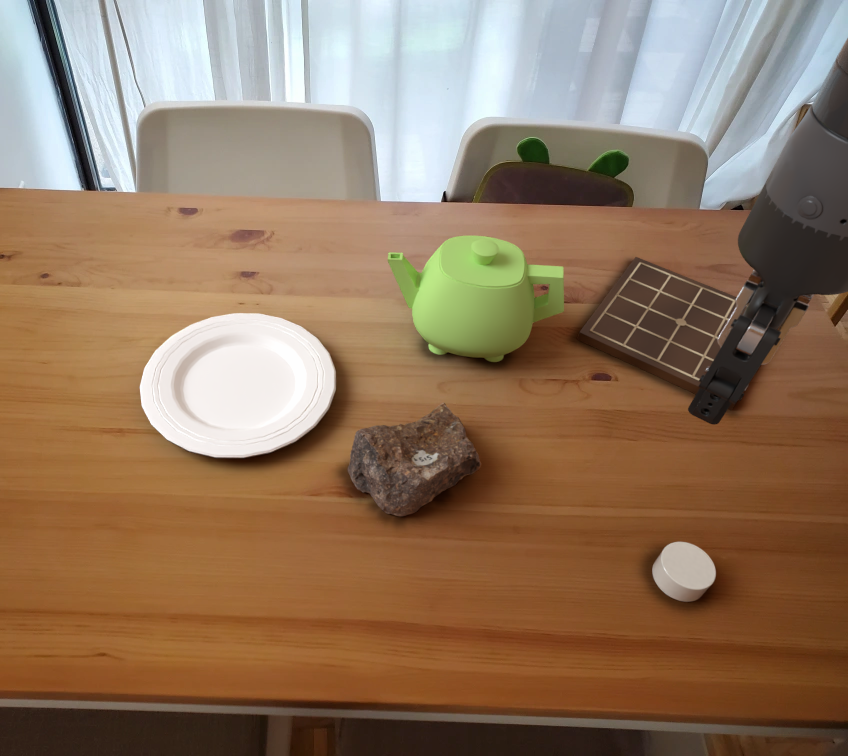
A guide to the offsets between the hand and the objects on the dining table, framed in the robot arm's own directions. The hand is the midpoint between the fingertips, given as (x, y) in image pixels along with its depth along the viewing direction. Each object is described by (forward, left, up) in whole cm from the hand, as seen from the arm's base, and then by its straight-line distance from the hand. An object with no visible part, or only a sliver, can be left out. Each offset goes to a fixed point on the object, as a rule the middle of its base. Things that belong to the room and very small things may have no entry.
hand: (722, 382), depth 54 cm
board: (+6, -29, -20) cm, 35 cm away
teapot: (+26, -13, -20) cm, 35 cm away
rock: (+20, +7, -20) cm, 29 cm away
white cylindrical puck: (-5, +3, -20) cm, 21 cm away
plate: (+41, +10, -20) cm, 47 cm away
